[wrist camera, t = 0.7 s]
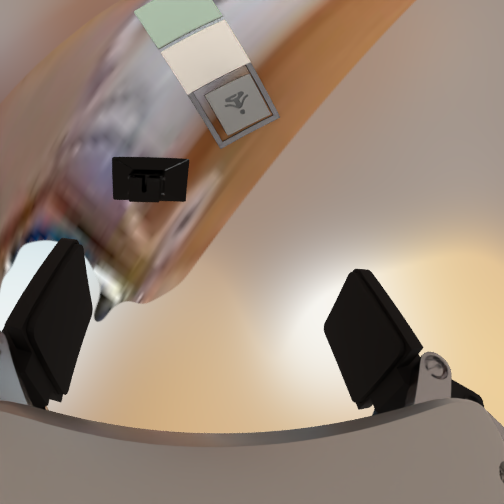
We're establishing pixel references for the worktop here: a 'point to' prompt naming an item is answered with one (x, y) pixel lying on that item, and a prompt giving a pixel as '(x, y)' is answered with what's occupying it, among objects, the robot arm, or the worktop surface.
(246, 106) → the dice cube
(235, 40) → the game board
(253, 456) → the robot arm
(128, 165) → the black angular block
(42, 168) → the worktop surface
